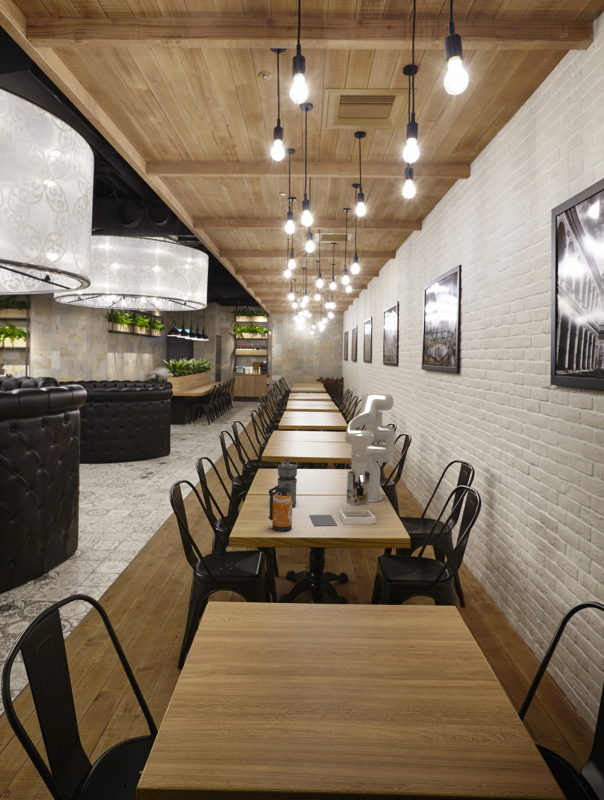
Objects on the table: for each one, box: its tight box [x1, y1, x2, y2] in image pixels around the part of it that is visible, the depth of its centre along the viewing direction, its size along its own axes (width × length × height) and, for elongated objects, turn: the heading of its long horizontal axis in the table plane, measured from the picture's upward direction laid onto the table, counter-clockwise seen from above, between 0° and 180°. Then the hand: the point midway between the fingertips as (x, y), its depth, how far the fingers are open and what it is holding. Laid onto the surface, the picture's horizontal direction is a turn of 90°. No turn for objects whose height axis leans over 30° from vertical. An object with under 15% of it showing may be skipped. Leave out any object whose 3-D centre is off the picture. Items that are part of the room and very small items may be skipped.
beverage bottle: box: [277, 458, 298, 508], centre depth 270 cm, size 10×13×25 cm
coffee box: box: [346, 470, 370, 507], centre depth 248 cm, size 9×6×16 cm
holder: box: [338, 509, 377, 525], centre depth 249 cm, size 12×15×3 cm
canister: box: [268, 484, 293, 532], centre depth 233 cm, size 9×11×20 cm
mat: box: [308, 514, 338, 527], centre depth 247 cm, size 16×11×1 cm
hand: (357, 493), depth 248 cm, fingers closed on coffee box, 7 cm apart
